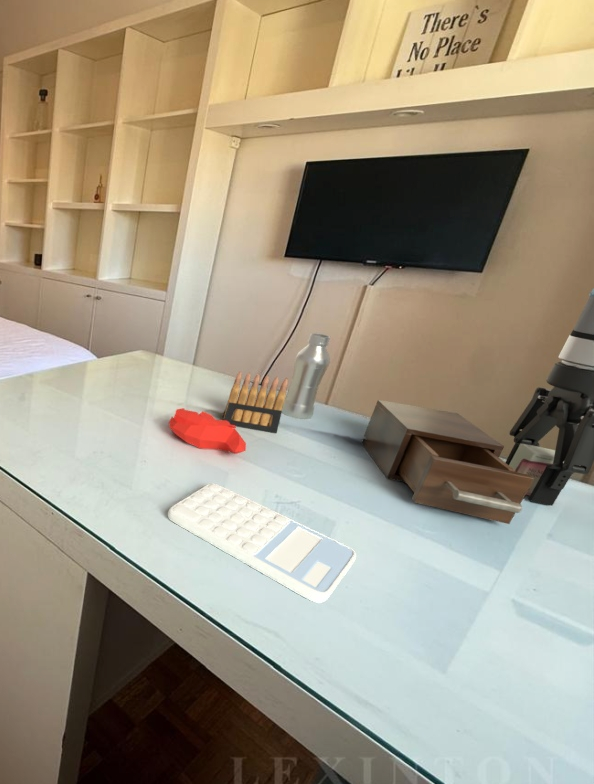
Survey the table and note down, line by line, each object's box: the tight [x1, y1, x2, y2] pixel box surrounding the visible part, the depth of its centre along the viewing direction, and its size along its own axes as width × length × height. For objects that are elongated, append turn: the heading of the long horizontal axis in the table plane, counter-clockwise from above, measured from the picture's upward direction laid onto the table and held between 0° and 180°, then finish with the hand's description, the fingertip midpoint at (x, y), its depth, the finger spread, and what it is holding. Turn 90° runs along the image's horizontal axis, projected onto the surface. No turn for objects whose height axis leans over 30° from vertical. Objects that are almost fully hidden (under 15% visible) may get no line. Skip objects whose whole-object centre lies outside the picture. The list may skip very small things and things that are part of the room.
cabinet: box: [360, 399, 505, 483], centre depth 84 cm, size 16×13×10 cm
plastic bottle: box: [281, 333, 331, 420], centre depth 100 cm, size 6×7×20 cm
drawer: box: [397, 434, 534, 525], centre depth 73 cm, size 19×12×8 cm, turn 157°
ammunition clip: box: [221, 371, 289, 434], centre depth 96 cm, size 11×2×12 cm, turn 72°
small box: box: [509, 444, 564, 496], centre depth 78 cm, size 5×4×8 cm
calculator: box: [167, 483, 357, 604], centre depth 61 cm, size 13×20×2 cm, turn 40°
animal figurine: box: [168, 407, 247, 455], centre depth 88 cm, size 12×15×5 cm
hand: (524, 489), depth 80 cm, fingers open, 8 cm apart
